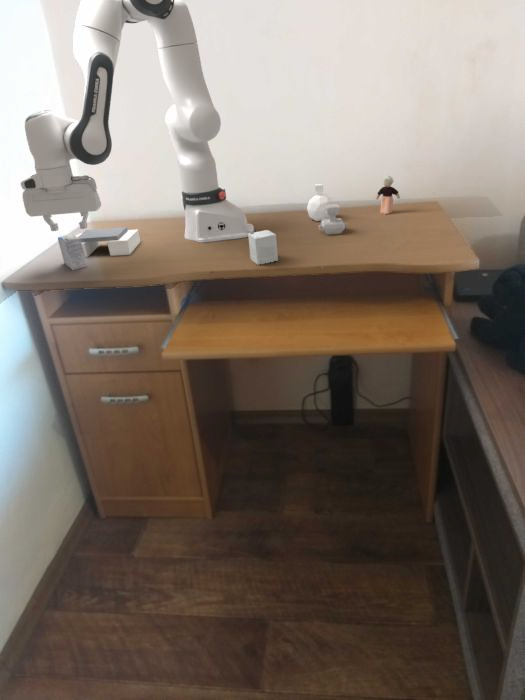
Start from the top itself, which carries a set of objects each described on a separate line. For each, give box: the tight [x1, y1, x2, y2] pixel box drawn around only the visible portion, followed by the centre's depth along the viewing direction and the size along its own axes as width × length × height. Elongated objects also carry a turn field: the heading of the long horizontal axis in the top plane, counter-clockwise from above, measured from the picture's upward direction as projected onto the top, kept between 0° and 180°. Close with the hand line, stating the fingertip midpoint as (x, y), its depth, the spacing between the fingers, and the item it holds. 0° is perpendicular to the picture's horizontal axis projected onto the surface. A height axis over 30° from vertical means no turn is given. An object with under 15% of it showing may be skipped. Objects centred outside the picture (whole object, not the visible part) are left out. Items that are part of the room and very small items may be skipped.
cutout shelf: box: [75, 226, 141, 258], centre depth 161 cm, size 19×12×6 cm, turn 87°
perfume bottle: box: [306, 183, 334, 222], centre depth 171 cm, size 9×9×12 cm
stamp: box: [317, 203, 348, 236], centre depth 159 cm, size 9×7×8 cm
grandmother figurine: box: [375, 175, 401, 215], centre depth 172 cm, size 8×4×13 cm, turn 81°
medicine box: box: [57, 233, 88, 271], centre depth 150 cm, size 8×4×9 cm, turn 35°
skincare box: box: [247, 229, 279, 266], centre depth 141 cm, size 6×6×7 cm
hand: (69, 229), depth 146 cm, fingers open, 7 cm apart
